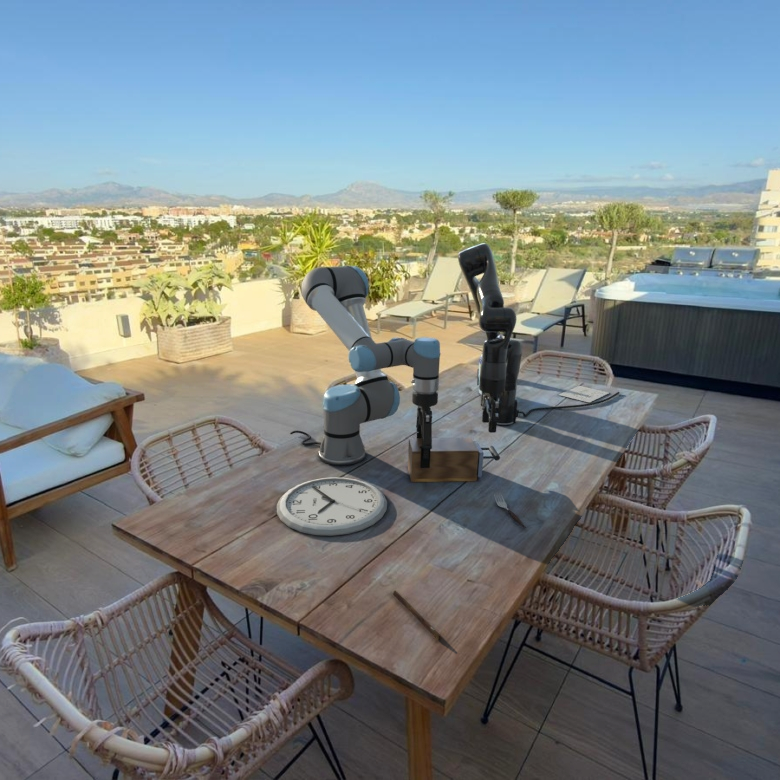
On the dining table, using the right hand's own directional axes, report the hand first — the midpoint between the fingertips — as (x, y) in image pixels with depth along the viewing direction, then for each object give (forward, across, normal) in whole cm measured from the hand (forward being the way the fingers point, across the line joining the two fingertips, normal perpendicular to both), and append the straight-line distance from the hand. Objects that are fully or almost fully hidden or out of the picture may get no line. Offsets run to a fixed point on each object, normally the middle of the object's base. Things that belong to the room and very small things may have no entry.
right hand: (488, 427), depth 159 cm
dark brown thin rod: (+15, +62, -29) cm, 70 cm away
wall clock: (+15, +18, -47) cm, 52 cm away
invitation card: (+15, -79, +66) cm, 104 cm away
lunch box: (+15, -72, +20) cm, 77 cm away
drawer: (+14, 0, -9) cm, 17 cm away
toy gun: (+15, -112, +27) cm, 116 cm away
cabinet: (+15, 0, -14) cm, 21 cm away
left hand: (+10, 0, -20) cm, 22 cm away
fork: (+15, +25, +1) cm, 29 cm away
